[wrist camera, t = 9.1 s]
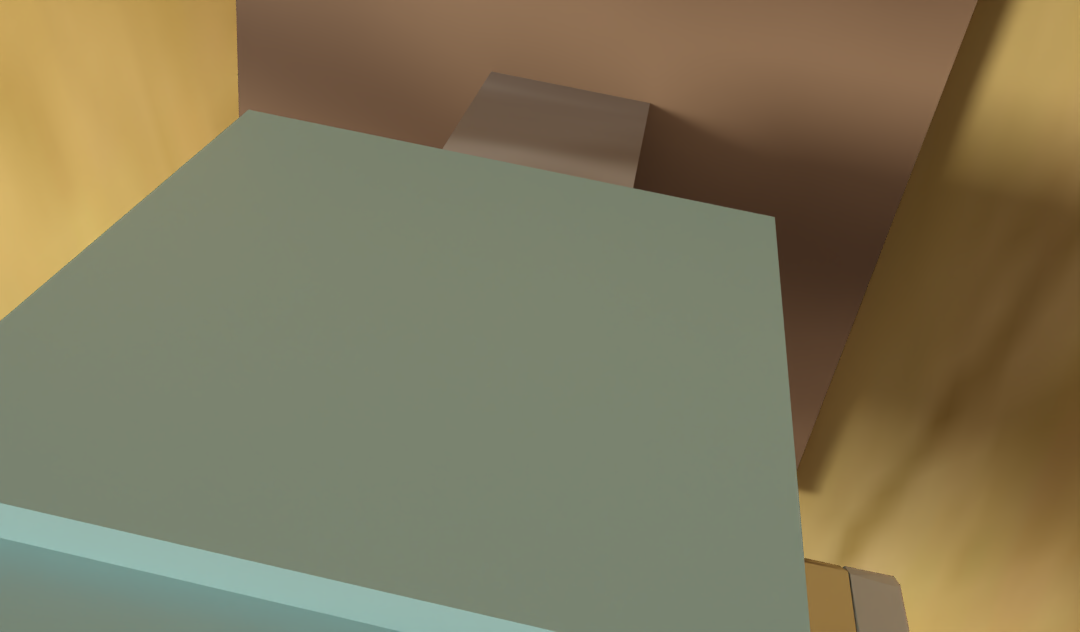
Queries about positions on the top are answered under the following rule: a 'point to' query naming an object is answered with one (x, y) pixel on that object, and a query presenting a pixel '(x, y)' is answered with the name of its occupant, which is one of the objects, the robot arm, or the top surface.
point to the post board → (649, 112)
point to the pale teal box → (401, 405)
